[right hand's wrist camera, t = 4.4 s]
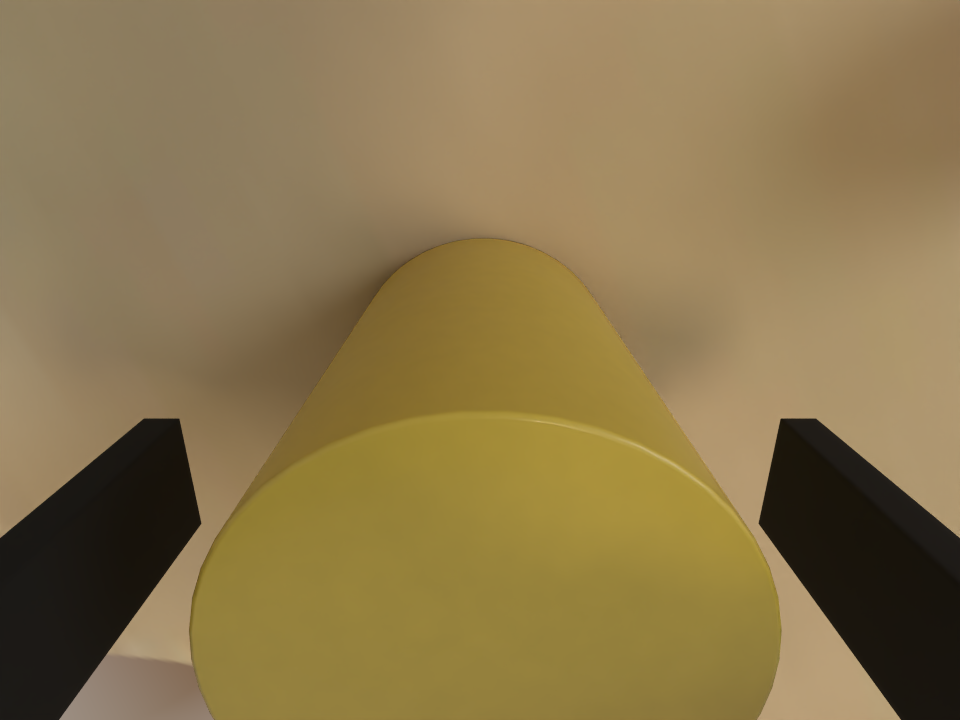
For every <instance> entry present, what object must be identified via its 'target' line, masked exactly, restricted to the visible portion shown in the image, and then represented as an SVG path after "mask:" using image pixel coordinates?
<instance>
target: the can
mask: <svg viewBox="0 0 960 720" xmlns="http://www.w3.org/2000/svg"><path fill="white" fill-rule="evenodd" d="M189 635H190V647H191V660H192V663H193V667H194V671H195V675H196V679H197V683H198V687H199V689H200V691H201V694H202V696H203V698H204V700H205V703H206V705H207V707H208V710H209V712H210V714H211V715H212V717H213V719H214V720H757V718H758V717H759V715H760V714H761V712H762V709H763V707H764V705H765V702H766V700H767V698H768V696H769V693H770V691H771V689H772V686H773V682H774V678H775V674H776V670H777V666H778V663H779V656H780V643H781V620H780V611H779V601H778V595H777V592H776V588H775V585H774V581H773V578H772V575H771V571H770V568H769V566H768V564H767V562H766V560H765V558H764V556H763V554H762V552H761V550H760V548H759V546H758V544H757V542H756V540H755V538H754V536H753V535H752V533H751V532H750V530H749V529H748V527H747V526H746V524H745V523H744V521H743V520H742V518H741V517H740V515H739V514H738V512H737V511H736V509H735V508H734V506H733V505H732V503H731V502H730V500H729V499H728V498H727V496H726V495H725V493H724V492H723V490H722V489H721V487H720V486H719V484H718V483H717V481H716V480H715V478H714V477H713V475H712V474H711V472H710V471H709V469H708V468H707V466H706V465H705V463H704V462H703V460H702V459H701V457H700V456H699V454H698V453H697V451H696V450H695V448H694V447H693V445H692V444H691V442H690V441H689V439H688V438H687V437H686V435H685V434H684V432H683V431H682V429H681V428H680V426H679V425H678V423H677V422H676V420H675V419H674V417H673V416H672V414H671V413H670V411H669V410H668V408H667V407H666V405H665V404H664V402H663V401H662V399H661V398H660V396H659V395H658V393H657V392H656V390H655V389H654V387H653V386H652V384H651V383H650V381H649V380H648V378H647V377H646V376H645V374H644V373H643V371H642V370H641V368H640V367H639V365H638V364H637V362H636V361H635V359H634V358H633V356H632V355H631V353H630V352H629V350H628V349H627V347H626V346H625V344H624V343H623V341H622V340H621V338H620V337H619V335H618V334H617V332H616V331H615V329H614V328H613V326H612V325H611V323H610V322H609V320H608V319H607V317H606V316H605V314H604V313H603V312H602V310H601V309H600V307H599V306H598V304H597V303H596V301H595V300H594V298H593V297H592V295H591V294H590V293H589V291H588V290H587V288H586V287H585V286H584V284H583V283H582V282H581V281H580V280H579V279H578V278H577V277H576V276H575V275H574V274H573V273H572V272H571V271H570V270H569V269H568V268H566V267H565V266H564V265H563V264H561V263H560V262H559V261H557V260H556V259H554V258H552V257H550V256H549V255H547V254H545V253H544V252H541V251H539V250H537V249H534V248H532V247H529V246H527V245H523V244H520V243H516V242H512V241H507V240H499V239H468V240H461V241H455V242H451V243H448V244H444V245H440V246H438V247H435V248H433V249H431V250H428V251H426V252H423V253H422V254H420V255H418V256H417V257H415V258H413V259H412V260H410V261H408V262H407V263H406V264H404V265H403V266H402V267H401V268H399V269H398V270H397V271H396V272H395V273H394V274H393V275H392V276H391V277H390V278H389V279H388V280H387V281H386V282H385V283H384V284H383V286H382V287H381V288H380V290H379V291H378V293H377V294H376V295H375V297H374V298H373V300H372V301H371V303H370V304H369V306H368V307H367V309H366V310H365V312H364V313H363V315H362V316H361V318H360V319H359V321H358V322H357V324H356V326H355V327H354V329H353V330H352V332H351V333H350V335H349V336H348V338H347V339H346V341H345V342H344V344H343V345H342V347H341V348H340V350H339V351H338V353H337V354H336V356H335V357H334V359H333V360H332V362H331V364H330V365H329V367H328V368H327V370H326V371H325V373H324V374H323V376H322V377H321V379H320V380H319V382H318V383H317V385H316V386H315V388H314V389H313V391H312V392H311V394H310V395H309V397H308V398H307V400H306V402H305V403H304V405H303V406H302V408H301V409H300V411H299V412H298V414H297V415H296V417H295V418H294V420H293V421H292V423H291V424H290V426H289V427H288V429H287V430H286V432H285V433H284V435H283V436H282V438H281V439H280V441H279V443H278V444H277V446H276V447H275V449H274V450H273V452H272V453H271V455H270V456H269V458H268V459H267V461H266V462H265V464H264V465H263V467H262V468H261V470H260V471H259V473H258V474H257V476H256V477H255V479H254V481H253V482H252V484H251V485H250V487H249V488H248V490H247V491H246V493H245V494H244V496H243V497H242V499H241V500H240V502H239V503H238V505H237V506H236V508H235V509H234V511H233V512H232V514H231V515H230V517H229V518H228V520H227V522H226V523H225V525H224V526H223V528H222V529H221V531H220V532H219V534H218V535H217V537H216V538H215V540H214V542H213V544H212V546H211V548H210V550H209V552H208V554H207V556H206V558H205V560H204V563H203V565H202V567H201V569H200V573H199V576H198V580H197V583H196V587H195V590H194V594H193V597H192V606H191V616H190V626H189Z"/></svg>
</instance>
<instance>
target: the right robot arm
mask: <svg viewBox="0 0 960 720" xmlns="http://www.w3.org/2000/svg"><path fill="white" fill-rule="evenodd" d="M200 525H201V520H200V515H199V510H198V505H197V501H196V496H195V491H194V486H193V482H192V477H191V472H190V467H189V463H188V458H187V453H186V448H185V444H184V439H183V434H182V429H181V425H180V420H179V419H143V420H142V421H141V422H139V423H138V424H137V425H136V426H135V427H133V428H132V429H131V430H130V431H129V432H127V433H126V434H125V435H124V436H123V437H121V438H120V439H119V440H118V441H117V442H115V443H114V444H113V445H112V446H111V447H109V448H108V449H107V450H106V451H105V452H103V453H102V454H101V455H100V456H99V457H97V458H96V459H95V460H94V461H92V462H91V463H90V464H89V465H88V466H86V467H85V468H84V469H83V470H82V471H80V472H79V473H78V474H77V475H76V476H74V477H73V478H72V479H71V480H70V481H68V482H67V483H66V484H65V485H64V486H62V487H61V488H60V489H59V490H58V491H56V492H55V493H54V494H53V495H52V496H50V497H49V498H48V499H47V500H46V501H44V502H43V503H42V504H41V505H39V506H38V507H37V508H36V509H35V510H33V511H32V512H31V513H30V514H29V515H27V516H26V517H25V518H24V519H23V520H21V521H20V522H19V523H18V524H17V525H15V526H14V527H13V528H12V529H11V530H9V531H8V532H7V533H6V534H5V535H3V536H2V537H1V538H0V720H59V719H60V718H61V716H62V715H63V713H64V712H65V711H66V709H67V708H68V706H69V705H70V704H71V702H72V701H73V700H74V698H75V697H76V695H77V694H78V693H79V691H80V690H81V689H82V687H83V686H84V684H85V683H86V682H87V680H88V679H89V678H90V676H91V675H92V673H93V672H94V671H95V669H96V668H97V667H98V665H99V664H100V662H101V661H102V660H103V658H104V657H105V656H106V654H107V653H108V651H109V650H110V649H111V647H112V646H113V645H114V643H115V642H116V640H117V639H118V638H119V636H120V635H121V634H122V632H123V631H124V629H125V628H126V627H127V625H128V624H129V623H130V621H131V620H132V618H133V617H134V616H135V614H136V613H137V611H138V610H139V609H140V607H141V606H142V605H143V603H144V602H145V600H146V599H147V598H148V596H149V595H150V594H151V592H152V591H153V589H154V588H155V587H156V585H157V584H158V583H159V581H160V580H161V578H162V577H163V576H164V574H165V573H166V572H167V570H168V569H169V567H170V566H171V565H172V563H173V562H174V561H175V559H176V558H177V556H178V555H179V554H180V552H181V551H182V550H183V548H184V547H185V545H186V544H187V543H188V541H189V540H190V539H191V537H192V536H193V534H194V533H195V532H196V530H197V529H198V527H199V526H200ZM759 525H760V526H761V527H762V529H763V530H764V532H765V533H766V534H767V536H768V537H769V539H770V540H771V541H772V543H773V544H774V545H775V547H776V548H777V550H778V551H779V552H780V554H781V555H782V556H783V558H784V559H785V561H786V562H787V563H788V565H789V566H790V567H791V569H792V570H793V572H794V573H795V574H796V576H797V577H798V578H799V580H800V581H801V583H802V584H803V585H804V587H805V588H806V589H807V591H808V592H809V594H810V595H811V596H812V598H813V599H814V600H815V602H816V603H817V605H818V606H819V607H820V609H821V610H822V612H823V613H824V614H825V616H826V617H827V618H828V620H829V621H830V623H831V624H832V625H833V627H834V628H835V629H836V631H837V632H838V634H839V635H840V636H841V638H842V639H843V640H844V642H845V643H846V645H847V646H848V647H849V649H850V650H851V651H852V653H853V654H854V656H855V657H856V658H857V660H858V661H859V662H860V664H861V665H862V667H863V668H864V669H865V671H866V672H867V673H868V675H869V676H870V678H871V679H872V680H873V682H874V683H875V684H876V686H877V687H878V689H879V690H880V691H881V693H882V694H883V696H884V697H885V698H886V700H887V701H888V702H889V704H890V705H891V707H892V708H893V709H894V711H895V712H896V713H897V715H898V716H899V718H900V719H901V720H960V538H959V537H958V536H957V535H955V534H954V533H953V532H952V531H951V530H949V529H948V528H947V527H946V526H945V525H943V524H942V523H941V522H940V521H939V520H937V519H936V518H935V517H934V516H933V515H931V514H930V513H929V512H928V511H927V510H925V509H924V508H923V507H922V506H921V505H919V504H918V503H917V502H916V501H914V500H913V499H912V498H911V497H910V496H908V495H907V494H906V493H905V492H904V491H902V490H901V489H900V488H899V487H898V486H896V485H895V484H894V483H893V482H892V481H890V480H889V479H888V478H887V477H886V476H884V475H883V474H882V473H881V472H880V471H878V470H877V469H876V468H875V467H874V466H872V465H871V464H870V463H869V462H868V461H866V460H865V459H864V458H863V457H861V456H860V455H859V454H858V453H857V452H855V451H854V450H853V449H852V448H851V447H849V446H848V445H847V444H846V443H845V442H843V441H842V440H841V439H840V438H839V437H837V436H836V435H835V434H834V433H833V432H831V431H830V430H829V429H828V428H827V427H825V426H824V425H823V424H822V423H821V422H819V421H818V420H817V419H781V420H780V425H779V429H778V434H777V439H776V444H775V448H774V453H773V458H772V463H771V467H770V472H769V477H768V482H767V486H766V491H765V496H764V501H763V505H762V510H761V515H760V520H759Z"/></svg>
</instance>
